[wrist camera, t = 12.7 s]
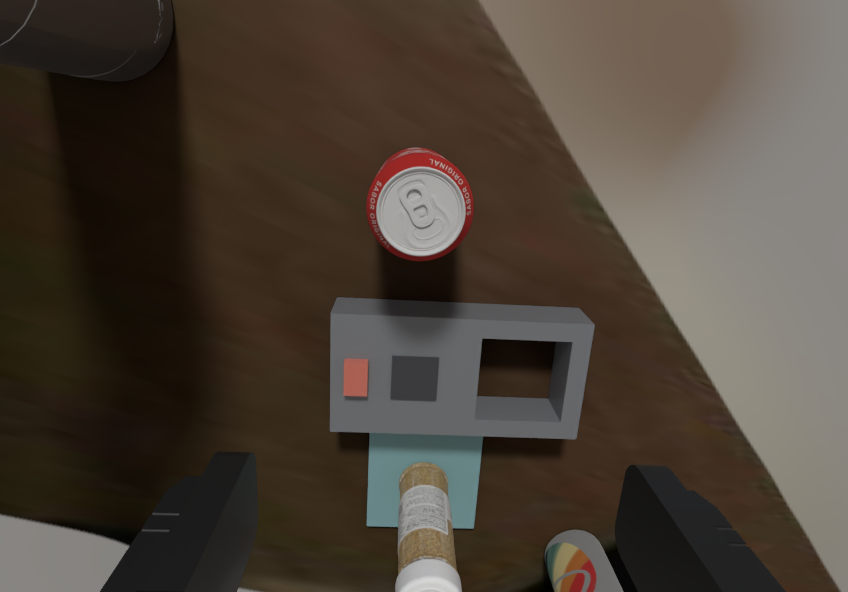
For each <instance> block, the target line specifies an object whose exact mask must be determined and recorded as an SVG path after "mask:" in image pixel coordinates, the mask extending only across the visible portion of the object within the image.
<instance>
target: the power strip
mask: <svg viewBox="0 0 848 592" xmlns="http://www.w3.org/2000/svg"><path fill="white" fill-rule="evenodd" d="M594 327H595V324H594V323H593V322H592V321H591V320H590V319H589V318H588V317H587V316H586V315H585V314H584V313H583V312H582V311H581V310H580V309H579V308H570V307H547V306H525V305H502V304H479V303H457V302H434V301H411V300H389V299H366V298H343V297H337V299H336V301H335V304H334V306H333V309H332V311H331V350H330V432H361V433H393V434H424V435H456V436H487V437H519V438H550V439H576V438H577V431H578V425H579V419H580V413H581V407H582V401H583V394H584V388H585V382H586V376H587V370H588V364H589V357H590V351H591V345H592V339H593V333H594ZM482 338H483V339H508V340H532V341H556V345H555V352H554V359H553V366H552V373H551V381H550V388H549V395H548V399H544V398H515V397H487V396H477V389H478V379H479V368H480V358H481V348H482Z"/></svg>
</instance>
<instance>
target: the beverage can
mask: <svg viewBox="0 0 848 592" xmlns="http://www.w3.org/2000/svg"><path fill="white" fill-rule="evenodd" d="M366 209H367V218H368V222H369V225H370V228H371V230H372V232H373V234H374V236H375V237H376V239H377V240H378V241H379V243H380V244H381V245H382V246H383V247H384V248H386V249H387V250H388V251H389V252H391V253H392V254H394V255H396V256H398V257H401V258H404V259H407V260H412V261H429V260H433V259H437V258H440V257H442V256H444V255H446V254H448V253H449V252H451V251H452V250H453V249H455V248H456V247H457V246H458V245H459V244H460V243H461V242H462V240H463V239H464V237H465V236H466V234H467V233H468V231H469V228H470V226H471V223H472V219H473V213H474V201H473V195H472V191H471V189H470V186H469V184H468V182H467V180H466V178H465V177H464V175H463V174H462V173H461V172H460V171H459V169H458V168H457V167H456V166H454V165H453V164H452V163H451V162H449V161H448V160H447V159H445V158H444V157H443V156H441V155H440V154H438V153H436V152H434V151H432V150H429V149H425V148H408V149H404V150H401V151H399V152H397V153H395V154H394V155H392V156H391V157H390V158H389V159H388V160H387V161H386V162H385V163H384V164H383V166H382V167H381V169H380V170H379V172H378V174H377V175H376V177H375V179H374V180H373V182H372V184H371V187H370V190H369V193H368V197H367V204H366Z"/></svg>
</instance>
